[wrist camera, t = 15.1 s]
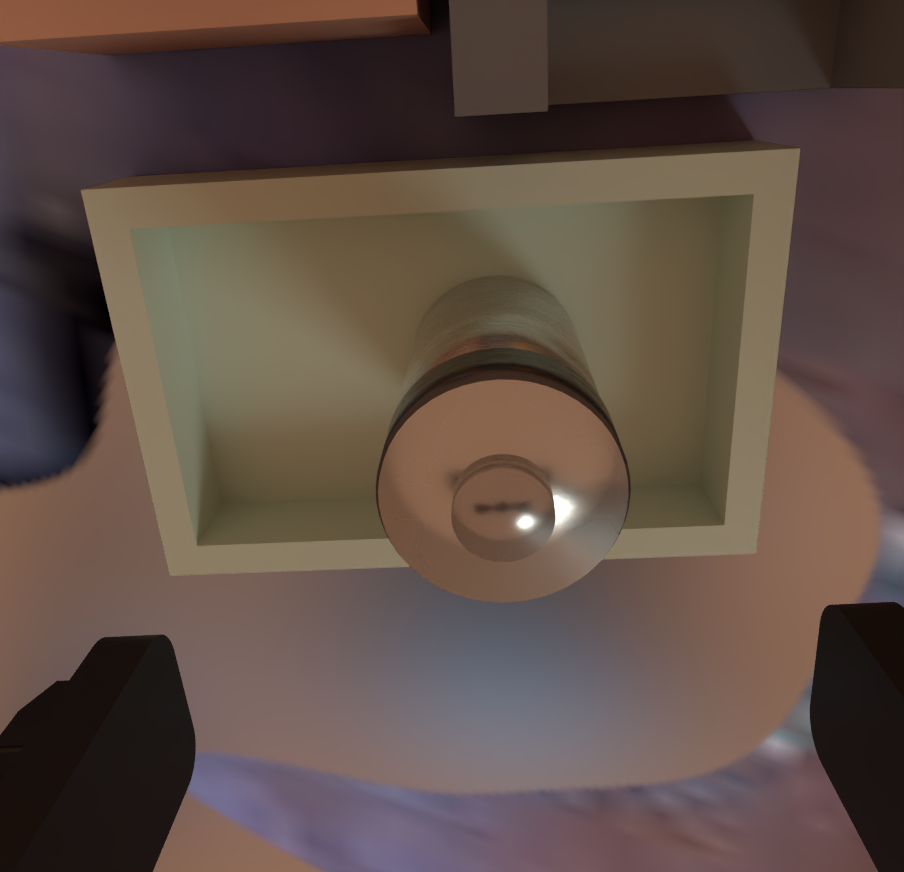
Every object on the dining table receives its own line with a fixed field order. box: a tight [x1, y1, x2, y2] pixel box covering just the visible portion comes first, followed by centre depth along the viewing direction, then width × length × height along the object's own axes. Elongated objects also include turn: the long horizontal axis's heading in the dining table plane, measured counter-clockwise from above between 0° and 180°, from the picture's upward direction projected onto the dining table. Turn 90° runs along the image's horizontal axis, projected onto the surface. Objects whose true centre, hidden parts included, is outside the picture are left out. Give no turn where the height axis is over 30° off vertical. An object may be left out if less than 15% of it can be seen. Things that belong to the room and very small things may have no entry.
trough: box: [81, 140, 800, 576], centre depth 19 cm, size 9×14×3 cm, turn 93°
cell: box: [376, 276, 631, 602], centre depth 16 cm, size 4×4×8 cm
